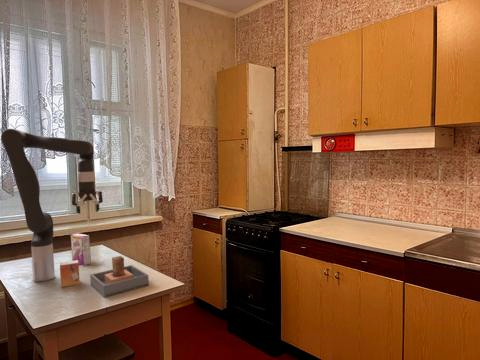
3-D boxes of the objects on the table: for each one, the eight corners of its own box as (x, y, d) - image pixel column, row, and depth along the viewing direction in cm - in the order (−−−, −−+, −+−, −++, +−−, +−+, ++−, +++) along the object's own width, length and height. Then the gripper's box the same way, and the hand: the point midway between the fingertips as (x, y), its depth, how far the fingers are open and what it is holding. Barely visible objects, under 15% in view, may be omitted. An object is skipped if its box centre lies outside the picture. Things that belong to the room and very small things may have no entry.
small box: (60, 287, 159) (59, 265, 158) (60, 284, 164) (59, 262, 163) (80, 284, 162) (78, 262, 162) (79, 280, 167) (78, 259, 167)
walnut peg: (116, 285, 157) (115, 259, 156) (113, 283, 160) (111, 257, 159) (125, 283, 159) (123, 257, 158) (121, 280, 162) (120, 255, 161)
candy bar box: (71, 263, 197) (69, 234, 196) (79, 260, 201) (78, 233, 200) (83, 265, 191) (81, 236, 190) (91, 263, 195) (89, 234, 194)
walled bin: (104, 297, 146) (103, 286, 145) (90, 284, 161) (90, 274, 161) (148, 285, 158) (148, 274, 158) (132, 274, 174) (131, 264, 173)
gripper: (98, 179, 181) (100, 210, 182) (69, 181, 172) (71, 213, 173) (103, 180, 175) (104, 211, 176) (72, 182, 166) (74, 215, 167)
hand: (88, 212), depth 174 cm, fingers open, 8 cm apart
